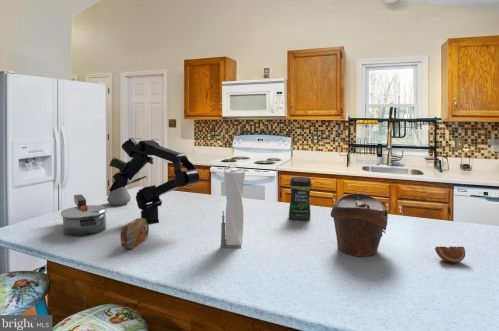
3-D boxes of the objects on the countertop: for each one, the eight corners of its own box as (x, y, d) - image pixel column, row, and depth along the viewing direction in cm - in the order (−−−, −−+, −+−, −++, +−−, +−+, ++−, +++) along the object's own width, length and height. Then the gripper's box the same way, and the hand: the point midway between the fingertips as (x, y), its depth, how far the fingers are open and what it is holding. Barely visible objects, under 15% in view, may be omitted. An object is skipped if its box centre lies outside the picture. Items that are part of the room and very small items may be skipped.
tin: (127, 252, 113) (126, 227, 112) (119, 252, 114) (118, 227, 112) (149, 237, 128) (149, 215, 126) (142, 236, 128) (141, 214, 127)
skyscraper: (223, 239, 126) (222, 163, 122) (245, 239, 126) (245, 163, 122) (220, 247, 118) (220, 166, 114) (244, 248, 117) (244, 166, 114)
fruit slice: (439, 265, 104) (441, 249, 104) (429, 256, 111) (430, 241, 110) (468, 266, 104) (470, 250, 103) (456, 257, 110) (458, 242, 110)
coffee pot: (102, 206, 172) (101, 176, 170) (114, 201, 184) (113, 173, 182) (143, 207, 170) (142, 177, 168) (152, 202, 181) (151, 174, 179)
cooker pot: (111, 234, 130) (110, 216, 129) (66, 242, 122) (65, 222, 121) (99, 218, 152) (98, 202, 151) (60, 223, 144) (59, 207, 143)
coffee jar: (288, 220, 150) (289, 178, 148) (289, 215, 158) (289, 175, 155) (310, 221, 149) (312, 178, 146) (310, 216, 156) (311, 175, 154)
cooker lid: (110, 214, 132) (110, 204, 132) (63, 221, 123) (62, 210, 123) (98, 201, 153) (97, 192, 152) (57, 206, 144) (56, 197, 143)
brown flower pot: (356, 265, 103) (360, 207, 101) (318, 244, 122) (320, 194, 120) (400, 257, 111) (405, 202, 108) (358, 238, 129) (360, 190, 127)
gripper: (125, 149, 154) (100, 174, 153) (116, 153, 135) (88, 182, 135) (144, 166, 156) (119, 191, 156) (138, 172, 138) (110, 200, 137)
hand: (109, 190), depth 146 cm, fingers closed
